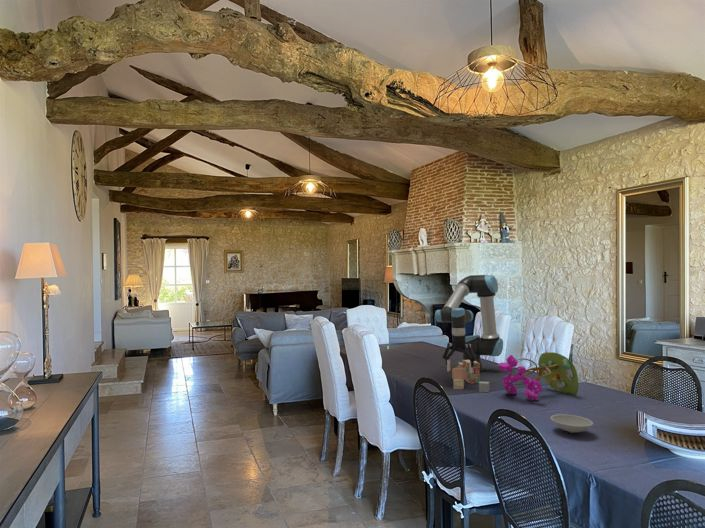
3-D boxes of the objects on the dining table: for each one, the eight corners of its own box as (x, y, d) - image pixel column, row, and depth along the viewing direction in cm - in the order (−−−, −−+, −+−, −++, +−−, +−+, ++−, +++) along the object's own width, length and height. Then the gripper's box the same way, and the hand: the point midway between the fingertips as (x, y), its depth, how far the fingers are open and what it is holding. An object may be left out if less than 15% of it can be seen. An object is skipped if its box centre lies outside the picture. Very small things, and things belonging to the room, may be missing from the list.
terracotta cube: (456, 377, 293) (456, 366, 294) (466, 378, 290) (466, 367, 290) (452, 379, 288) (452, 368, 289) (462, 380, 285) (462, 369, 285)
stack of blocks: (457, 377, 318) (457, 357, 319) (467, 376, 319) (466, 357, 320) (470, 384, 297) (469, 363, 298) (480, 383, 298) (479, 362, 298)
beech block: (454, 385, 294) (454, 377, 294) (464, 386, 292) (464, 377, 292) (453, 389, 285) (453, 380, 285) (463, 389, 284) (463, 380, 284)
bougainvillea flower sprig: (571, 338, 260) (518, 353, 247) (590, 393, 254) (537, 412, 241) (534, 346, 287) (484, 360, 274) (550, 396, 281) (500, 413, 268)
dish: (542, 428, 208) (541, 416, 209) (571, 424, 213) (570, 412, 213) (572, 441, 192) (571, 428, 192) (603, 437, 196) (602, 424, 196)
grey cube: (480, 390, 280) (480, 381, 280) (489, 390, 278) (489, 381, 278) (479, 392, 275) (479, 383, 276) (488, 392, 274) (488, 383, 274)
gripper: (436, 334, 294) (437, 371, 294) (476, 336, 280) (478, 375, 280) (441, 333, 301) (442, 368, 300) (481, 335, 286) (483, 372, 286)
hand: (459, 372), depth 290 cm, fingers open, 13 cm apart
